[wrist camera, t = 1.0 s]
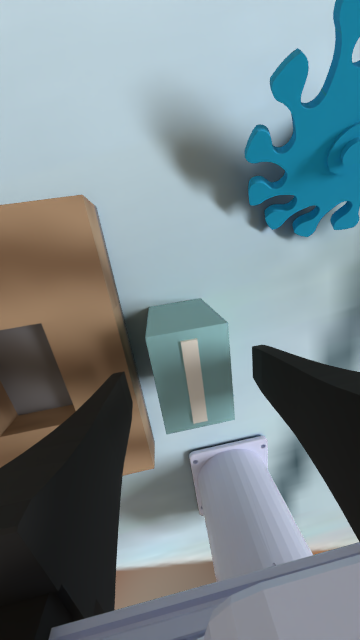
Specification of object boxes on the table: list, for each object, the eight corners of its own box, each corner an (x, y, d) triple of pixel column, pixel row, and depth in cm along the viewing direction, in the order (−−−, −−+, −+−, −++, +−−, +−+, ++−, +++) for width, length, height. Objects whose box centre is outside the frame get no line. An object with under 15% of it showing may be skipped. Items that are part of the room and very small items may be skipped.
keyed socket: (154, 441, 19) (154, 468, 16) (0, 475, 18) (-23, 508, 15) (96, 206, 12) (82, 194, 10) (-148, 238, 11) (-226, 234, 9)
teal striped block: (208, 365, 17) (235, 421, 11) (162, 374, 17) (166, 436, 11) (200, 298, 15) (229, 323, 9) (149, 307, 15) (144, 338, 9)
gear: (207, 191, 11) (532, -318, 3) (211, 146, 14) (395, -191, 6) (324, 269, 15) (600, 114, 7) (309, 221, 18) (498, 72, 10)
